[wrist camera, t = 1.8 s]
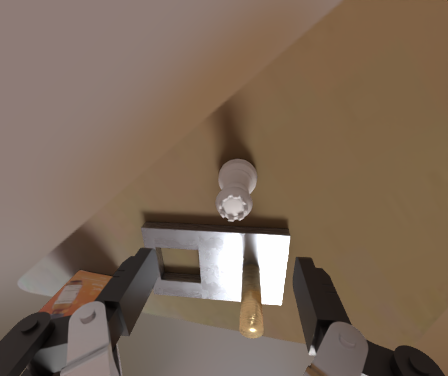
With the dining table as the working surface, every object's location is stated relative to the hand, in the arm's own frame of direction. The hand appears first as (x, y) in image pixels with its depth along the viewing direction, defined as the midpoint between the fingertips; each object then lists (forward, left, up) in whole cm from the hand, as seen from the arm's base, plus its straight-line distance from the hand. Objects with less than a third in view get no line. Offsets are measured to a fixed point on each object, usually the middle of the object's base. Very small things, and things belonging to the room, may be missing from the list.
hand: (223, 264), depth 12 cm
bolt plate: (+3, +13, -14) cm, 20 cm away
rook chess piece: (0, 0, -15) cm, 15 cm away
